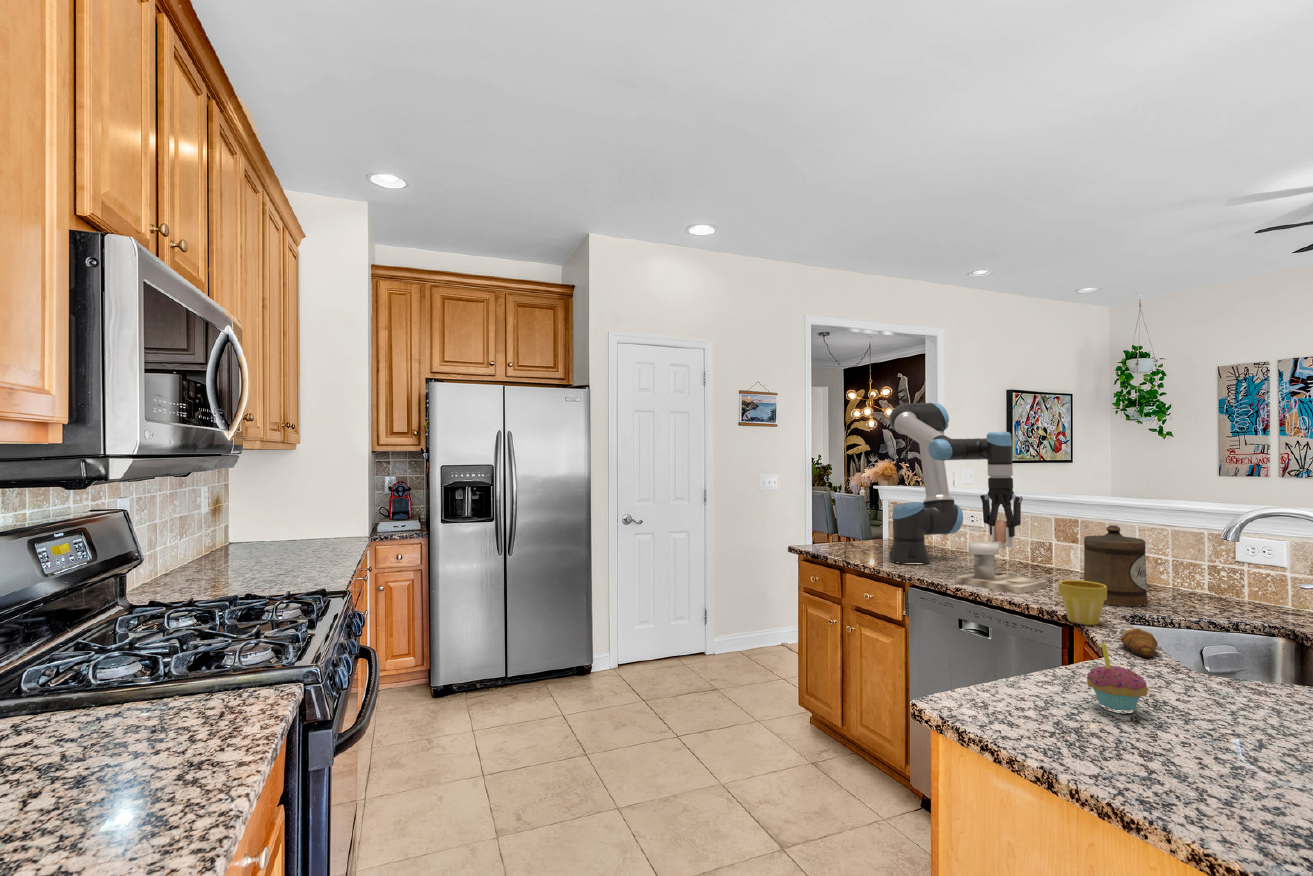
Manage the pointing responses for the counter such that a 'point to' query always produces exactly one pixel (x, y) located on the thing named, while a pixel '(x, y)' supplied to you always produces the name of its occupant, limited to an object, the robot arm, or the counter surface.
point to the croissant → (1139, 642)
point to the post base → (998, 577)
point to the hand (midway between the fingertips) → (1002, 545)
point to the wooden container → (1117, 566)
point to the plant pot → (1083, 600)
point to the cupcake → (1116, 685)
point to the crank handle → (991, 547)
